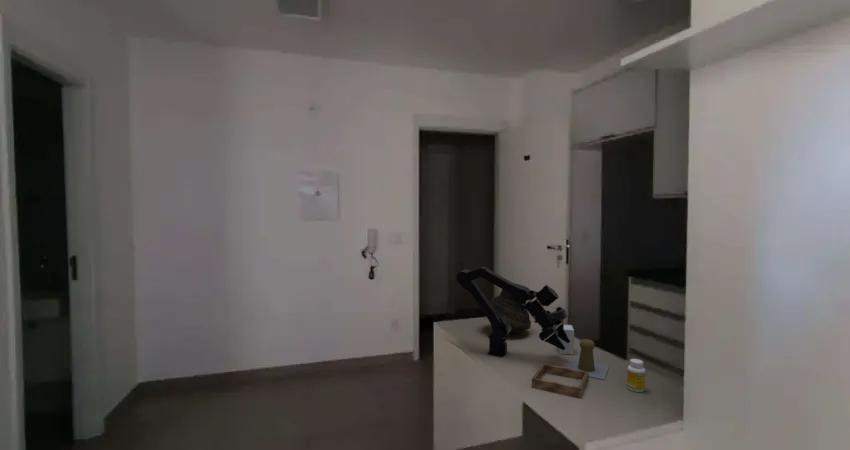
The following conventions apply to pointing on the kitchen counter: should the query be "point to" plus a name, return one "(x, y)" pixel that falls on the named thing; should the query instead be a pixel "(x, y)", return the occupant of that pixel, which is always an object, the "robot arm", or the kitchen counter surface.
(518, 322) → the ceramic pot
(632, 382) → the supplement bottle
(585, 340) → the cork
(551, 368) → the walnut frame
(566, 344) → the small box
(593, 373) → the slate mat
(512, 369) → the kitchen counter surface
